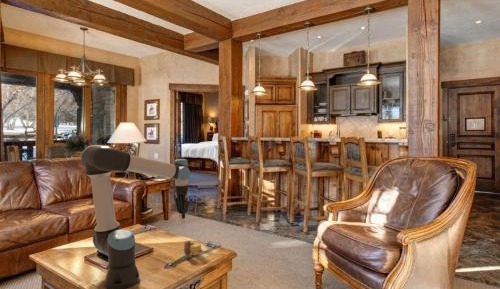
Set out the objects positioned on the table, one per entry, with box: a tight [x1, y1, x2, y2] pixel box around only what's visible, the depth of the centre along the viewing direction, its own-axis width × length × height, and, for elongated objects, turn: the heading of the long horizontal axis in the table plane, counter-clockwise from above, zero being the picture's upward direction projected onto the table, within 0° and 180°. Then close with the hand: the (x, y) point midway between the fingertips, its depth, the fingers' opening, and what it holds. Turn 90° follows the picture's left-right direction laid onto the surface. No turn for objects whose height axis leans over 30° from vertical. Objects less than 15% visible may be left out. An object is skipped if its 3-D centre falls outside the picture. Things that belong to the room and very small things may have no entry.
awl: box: [183, 240, 192, 260], centre depth 169 cm, size 3×3×10 cm
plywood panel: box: [180, 243, 220, 259], centre depth 179 cm, size 14×18×1 cm
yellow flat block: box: [191, 241, 201, 253], centre depth 180 cm, size 6×8×3 cm
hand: (182, 223), depth 186 cm, fingers closed
